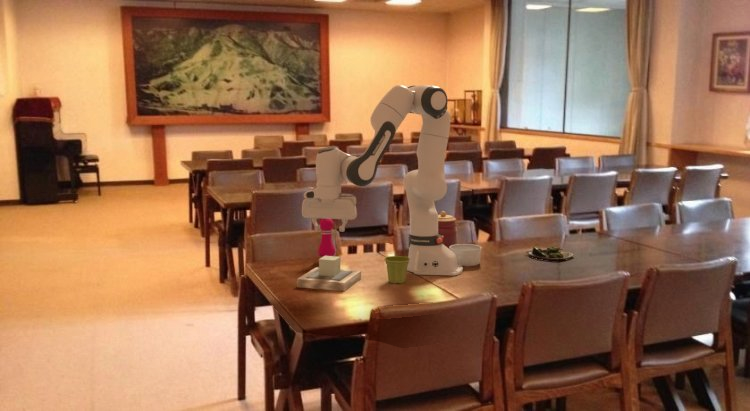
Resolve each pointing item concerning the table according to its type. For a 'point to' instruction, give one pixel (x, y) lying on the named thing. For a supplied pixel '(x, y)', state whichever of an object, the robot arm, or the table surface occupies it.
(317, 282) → the plinth
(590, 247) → the table surface
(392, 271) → the plant pot
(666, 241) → the table surface
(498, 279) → the table surface
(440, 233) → the canister
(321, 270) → the sage cube
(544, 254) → the salad plate
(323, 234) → the pepper mill
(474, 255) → the ramekin
